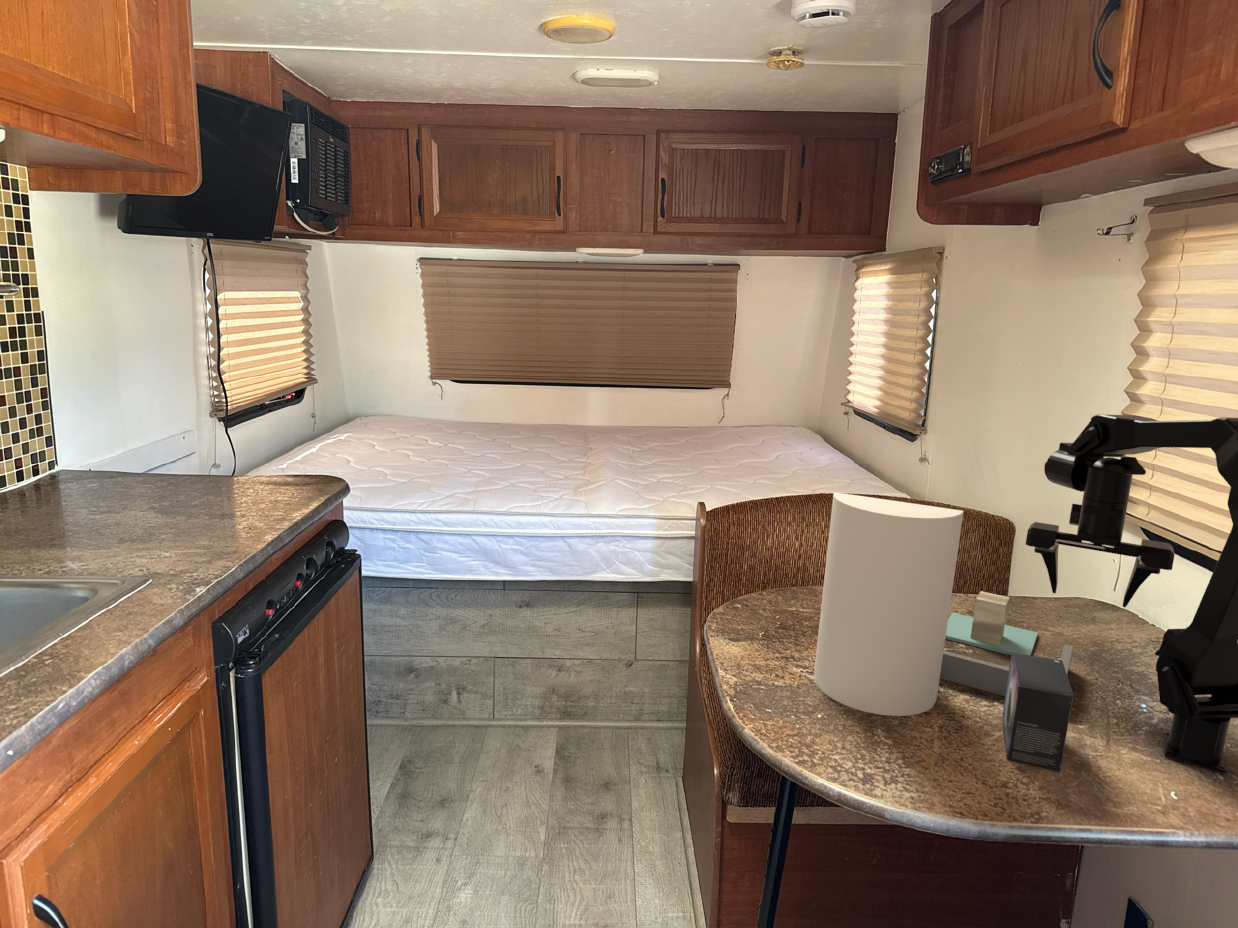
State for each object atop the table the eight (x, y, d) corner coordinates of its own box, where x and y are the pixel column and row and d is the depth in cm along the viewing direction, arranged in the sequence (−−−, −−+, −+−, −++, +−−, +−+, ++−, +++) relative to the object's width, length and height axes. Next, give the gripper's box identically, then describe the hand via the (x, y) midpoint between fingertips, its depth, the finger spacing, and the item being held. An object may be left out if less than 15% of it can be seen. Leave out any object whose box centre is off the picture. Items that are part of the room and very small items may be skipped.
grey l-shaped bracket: (1059, 711, 113) (1064, 685, 112) (879, 661, 126) (882, 637, 125) (1068, 669, 127) (1072, 645, 126) (904, 627, 140) (907, 606, 139)
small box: (998, 720, 110) (1009, 649, 108) (1051, 732, 107) (1064, 659, 105) (1003, 760, 100) (1016, 683, 98) (1062, 773, 98) (1077, 694, 96)
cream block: (999, 644, 133) (1005, 605, 132) (970, 637, 135) (976, 598, 134) (1003, 636, 137) (1009, 597, 135) (974, 629, 139) (980, 591, 138)
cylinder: (931, 728, 107) (961, 525, 101) (802, 695, 114) (822, 504, 108) (940, 675, 122) (965, 497, 116) (825, 650, 129) (844, 480, 123)
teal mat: (1029, 659, 129) (1029, 656, 129) (938, 636, 137) (938, 633, 137) (1037, 635, 139) (1037, 632, 139) (952, 615, 147) (952, 612, 146)
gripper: (1178, 499, 121) (1160, 598, 124) (1039, 481, 130) (1026, 573, 133) (1182, 513, 111) (1162, 620, 114) (1032, 492, 121) (1018, 591, 124)
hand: (1088, 599), depth 122 cm, fingers open, 9 cm apart
